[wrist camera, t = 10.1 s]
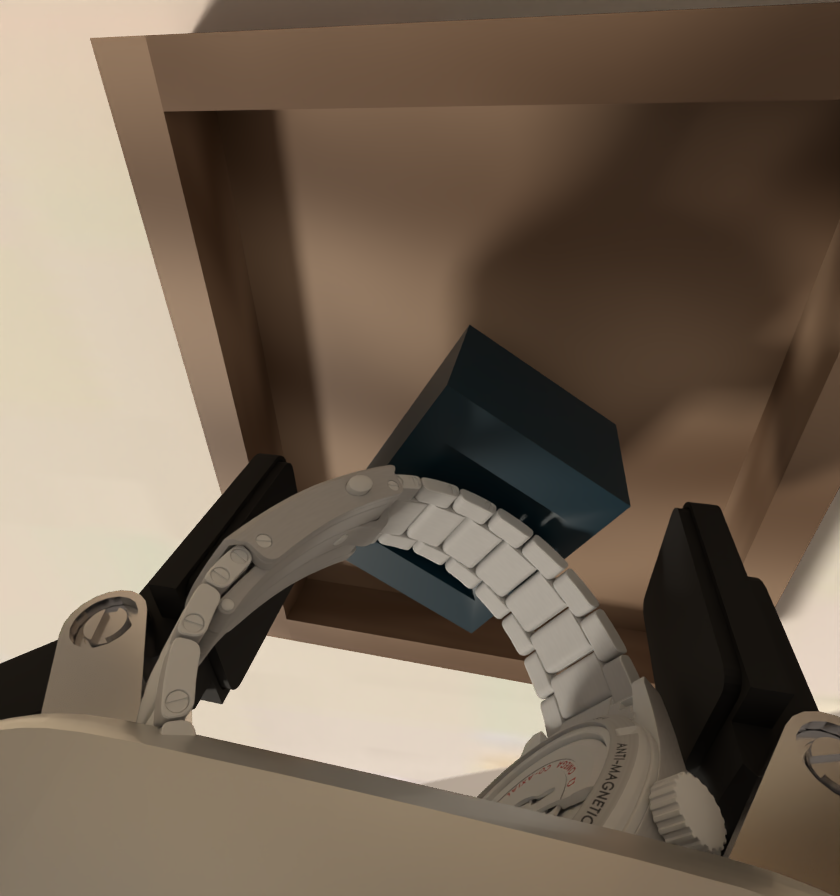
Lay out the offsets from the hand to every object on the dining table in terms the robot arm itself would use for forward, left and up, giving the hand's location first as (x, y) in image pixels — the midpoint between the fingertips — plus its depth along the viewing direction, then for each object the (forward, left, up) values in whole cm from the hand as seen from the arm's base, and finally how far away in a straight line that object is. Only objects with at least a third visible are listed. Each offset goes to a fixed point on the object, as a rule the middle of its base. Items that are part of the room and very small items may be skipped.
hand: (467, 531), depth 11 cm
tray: (0, 0, -6) cm, 6 cm away
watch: (0, 0, -3) cm, 3 cm away
